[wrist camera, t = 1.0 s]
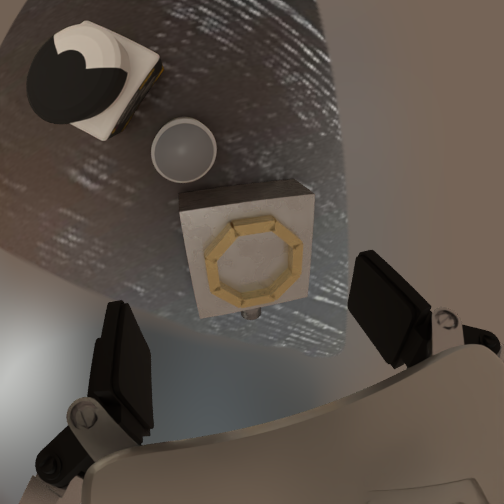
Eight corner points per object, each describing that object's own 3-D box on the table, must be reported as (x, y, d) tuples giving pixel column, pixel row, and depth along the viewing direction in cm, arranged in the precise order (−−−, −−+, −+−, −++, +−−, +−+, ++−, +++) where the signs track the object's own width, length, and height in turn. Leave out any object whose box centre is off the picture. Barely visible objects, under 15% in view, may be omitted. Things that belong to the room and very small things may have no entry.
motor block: (178, 193, 27) (179, 217, 21) (293, 178, 29) (320, 198, 24) (199, 308, 34) (206, 345, 29) (290, 290, 37) (309, 322, 32)
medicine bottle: (122, 132, 22) (83, 156, 12) (65, 102, 19) (-4, 110, 9) (165, 68, 20) (156, 39, 10) (105, 37, 17) (59, -2, 7)
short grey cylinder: (153, 121, 22) (146, 125, 17) (207, 113, 23) (215, 115, 18) (159, 171, 25) (155, 189, 20) (211, 163, 26) (220, 179, 21)
